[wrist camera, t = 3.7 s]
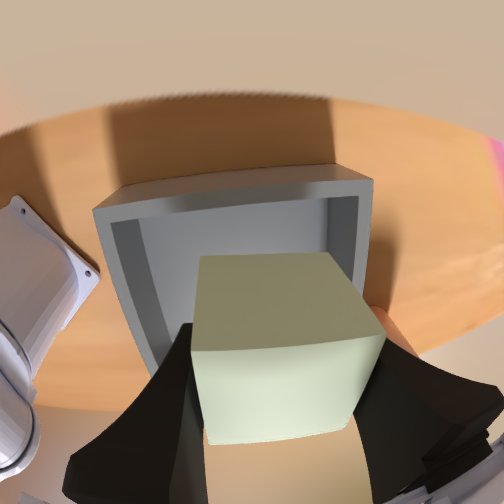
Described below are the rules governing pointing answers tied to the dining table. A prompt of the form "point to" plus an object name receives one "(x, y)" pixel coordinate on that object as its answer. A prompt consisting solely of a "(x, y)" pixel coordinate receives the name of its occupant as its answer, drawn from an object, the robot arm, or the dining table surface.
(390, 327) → the terracotta cylinder
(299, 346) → the green block
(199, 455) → the robot arm
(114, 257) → the tote
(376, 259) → the dining table surface
